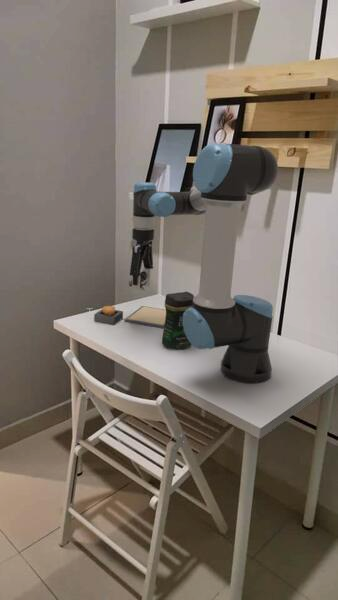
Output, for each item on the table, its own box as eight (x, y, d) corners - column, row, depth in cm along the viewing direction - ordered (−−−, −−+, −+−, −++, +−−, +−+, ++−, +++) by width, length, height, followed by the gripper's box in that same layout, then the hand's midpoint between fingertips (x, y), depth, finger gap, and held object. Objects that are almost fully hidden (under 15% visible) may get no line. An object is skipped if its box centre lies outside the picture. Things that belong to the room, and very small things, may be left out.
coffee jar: (171, 352, 153) (174, 298, 148) (158, 343, 160) (161, 291, 154) (195, 347, 159) (199, 294, 153) (182, 339, 165) (185, 288, 159)
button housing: (113, 325, 174) (114, 317, 173) (94, 321, 177) (94, 314, 176) (122, 318, 181) (122, 311, 181) (103, 315, 184) (103, 308, 183)
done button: (111, 316, 176) (111, 310, 175) (100, 314, 177) (100, 308, 176) (116, 313, 180) (117, 306, 179) (105, 311, 181) (106, 305, 180)
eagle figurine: (152, 290, 167) (151, 279, 175) (142, 275, 164) (141, 264, 172) (134, 300, 169) (133, 289, 176) (123, 285, 165) (123, 274, 173)
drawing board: (164, 328, 174) (164, 325, 173) (124, 321, 178) (124, 319, 178) (179, 314, 190) (179, 311, 190) (142, 308, 195) (142, 305, 194)
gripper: (144, 223, 175) (142, 280, 182) (120, 231, 155) (119, 296, 162) (163, 225, 173) (160, 283, 180) (142, 234, 153) (139, 299, 160)
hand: (141, 289), depth 171 cm, fingers closed on eagle figurine, 10 cm apart
